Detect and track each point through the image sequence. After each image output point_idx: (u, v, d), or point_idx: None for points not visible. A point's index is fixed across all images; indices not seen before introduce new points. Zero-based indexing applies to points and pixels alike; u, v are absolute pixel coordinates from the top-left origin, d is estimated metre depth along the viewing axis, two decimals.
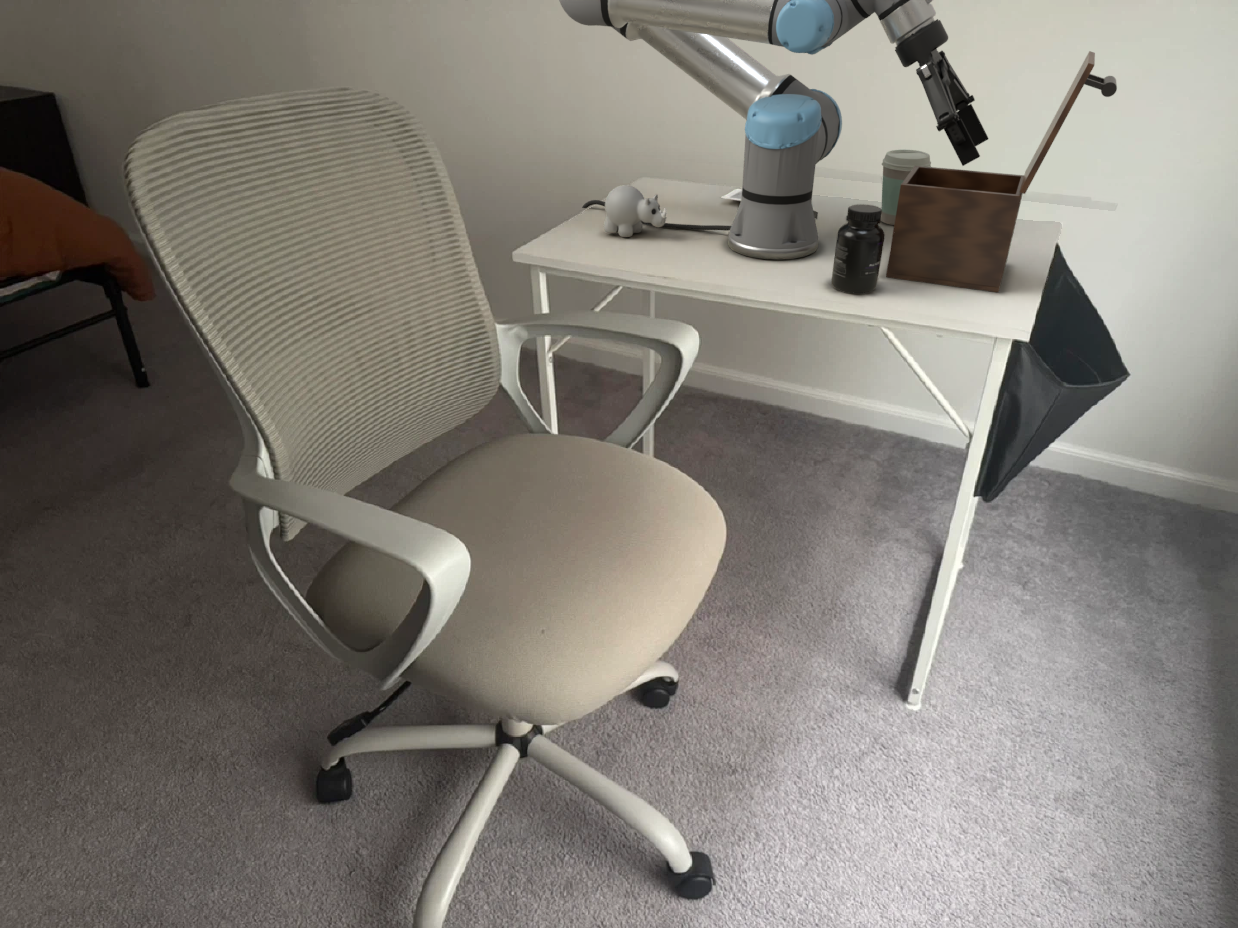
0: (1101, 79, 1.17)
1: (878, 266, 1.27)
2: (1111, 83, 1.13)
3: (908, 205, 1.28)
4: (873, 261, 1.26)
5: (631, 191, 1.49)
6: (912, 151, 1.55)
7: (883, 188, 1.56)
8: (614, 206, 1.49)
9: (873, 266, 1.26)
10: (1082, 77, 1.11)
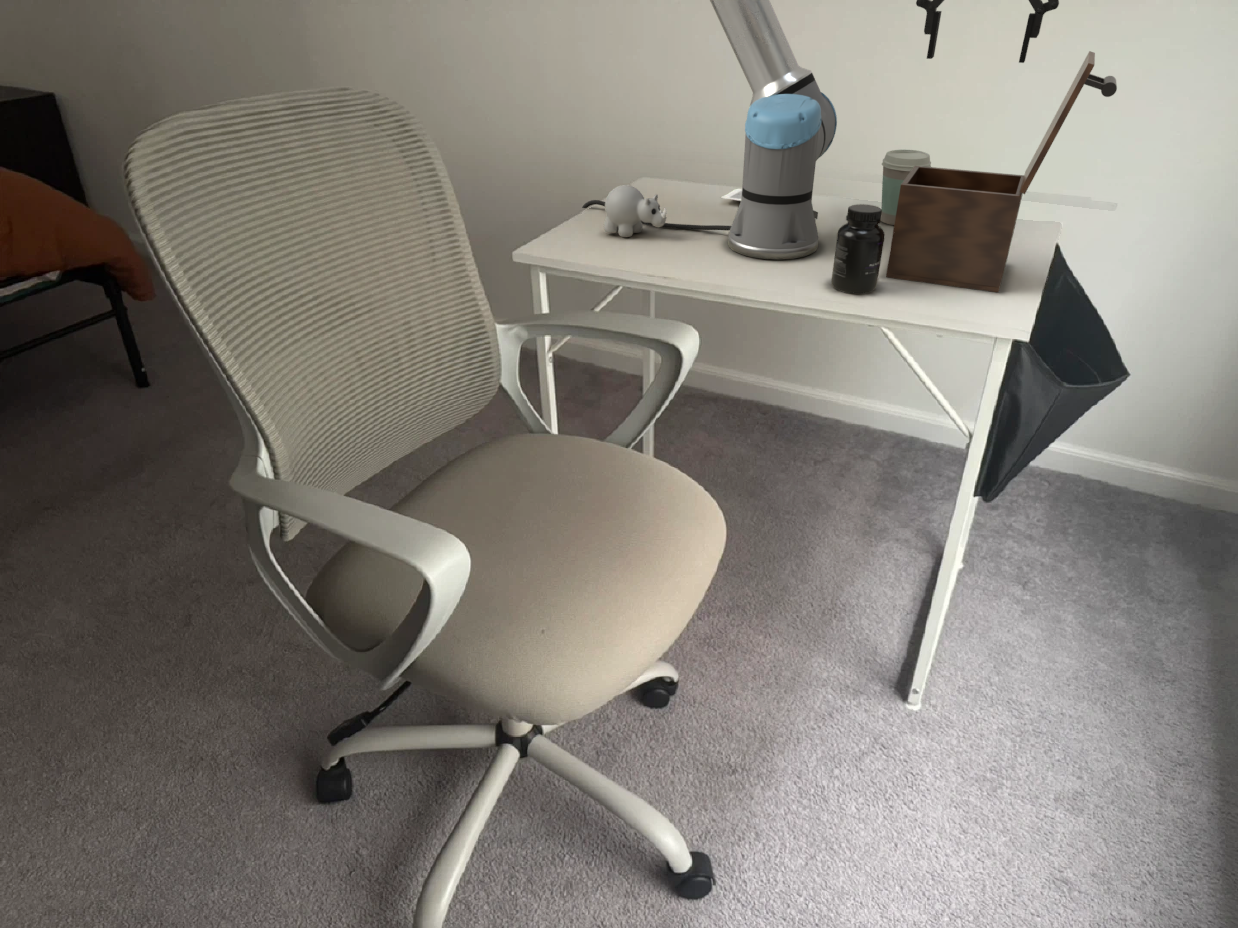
0: (1101, 79, 1.17)
1: (878, 266, 1.27)
2: (1111, 83, 1.13)
3: (908, 205, 1.28)
4: (873, 261, 1.26)
5: (631, 191, 1.49)
6: (912, 151, 1.55)
7: (883, 188, 1.56)
8: (614, 206, 1.49)
9: (873, 266, 1.26)
10: (1082, 77, 1.11)
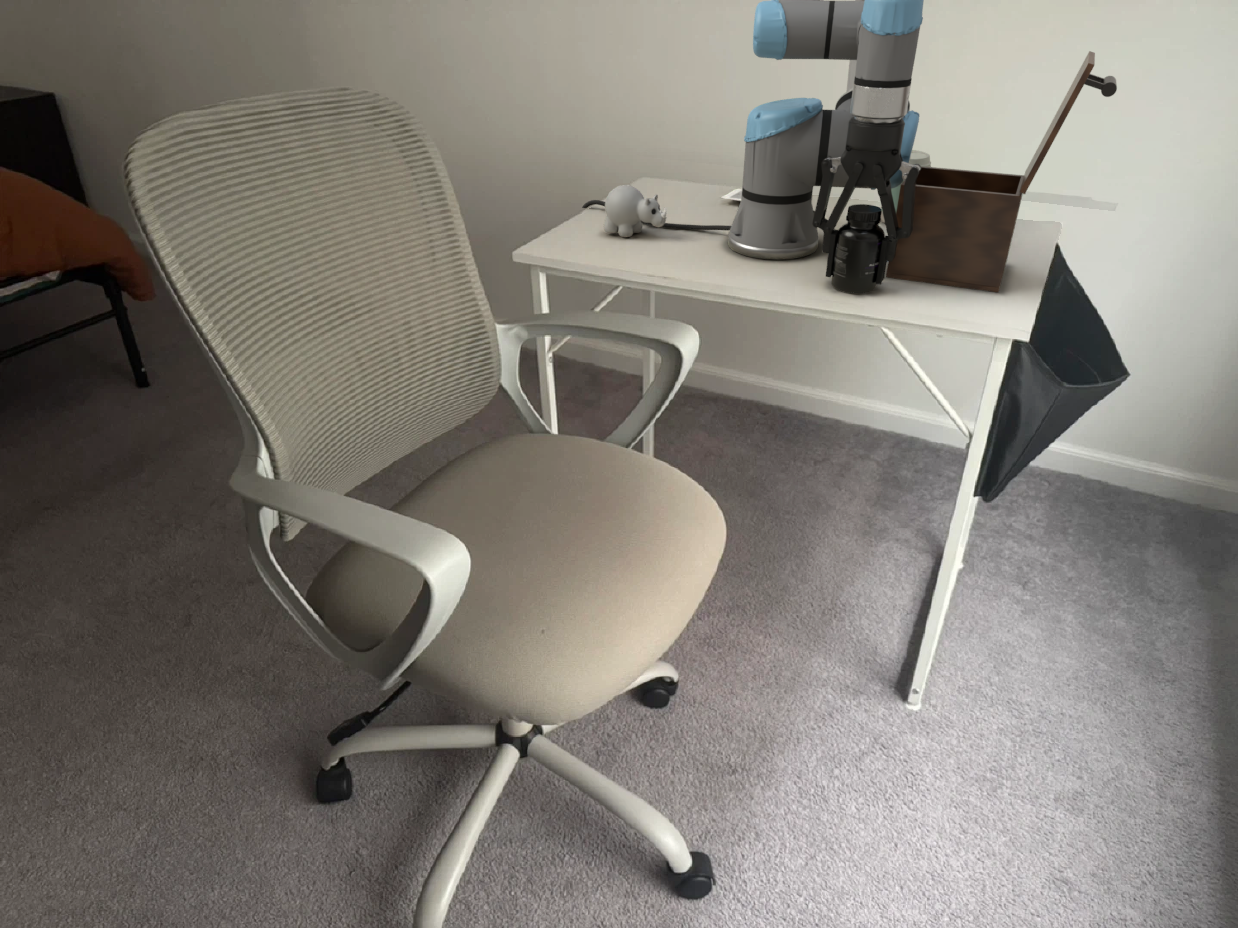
0: (1101, 79, 1.17)
1: None
2: (1111, 83, 1.13)
3: None
4: (873, 261, 1.26)
5: (631, 191, 1.49)
6: (912, 151, 1.55)
7: None
8: (614, 206, 1.49)
9: (873, 266, 1.26)
10: (1082, 77, 1.11)
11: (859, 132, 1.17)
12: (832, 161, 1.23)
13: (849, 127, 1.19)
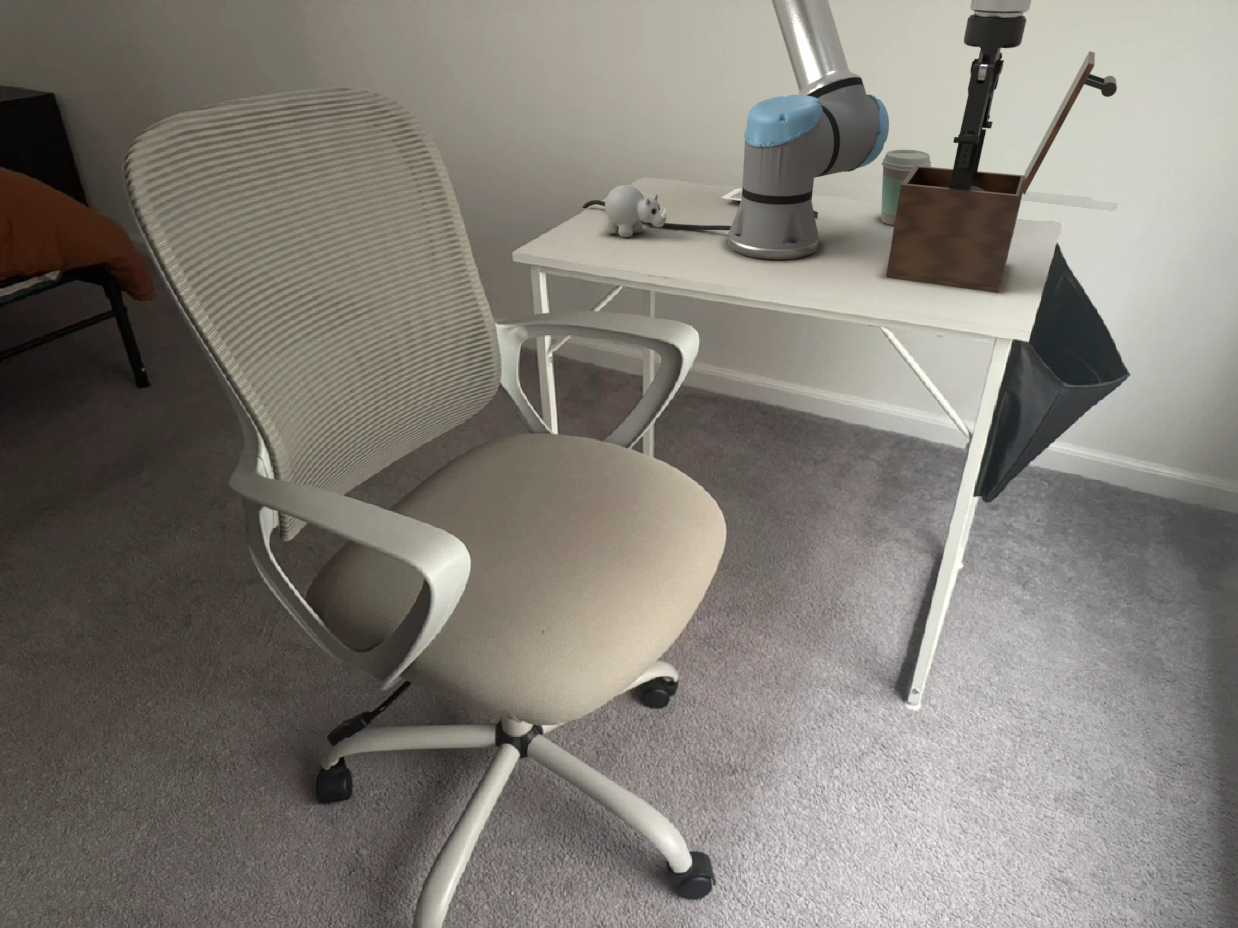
0: (1101, 79, 1.17)
1: None
2: (1111, 83, 1.13)
3: (908, 205, 1.28)
4: None
5: (631, 191, 1.49)
6: (912, 151, 1.55)
7: (883, 188, 1.56)
8: (614, 206, 1.49)
9: None
10: (1082, 77, 1.11)
11: (1021, 28, 1.15)
12: None
13: (1007, 26, 1.14)
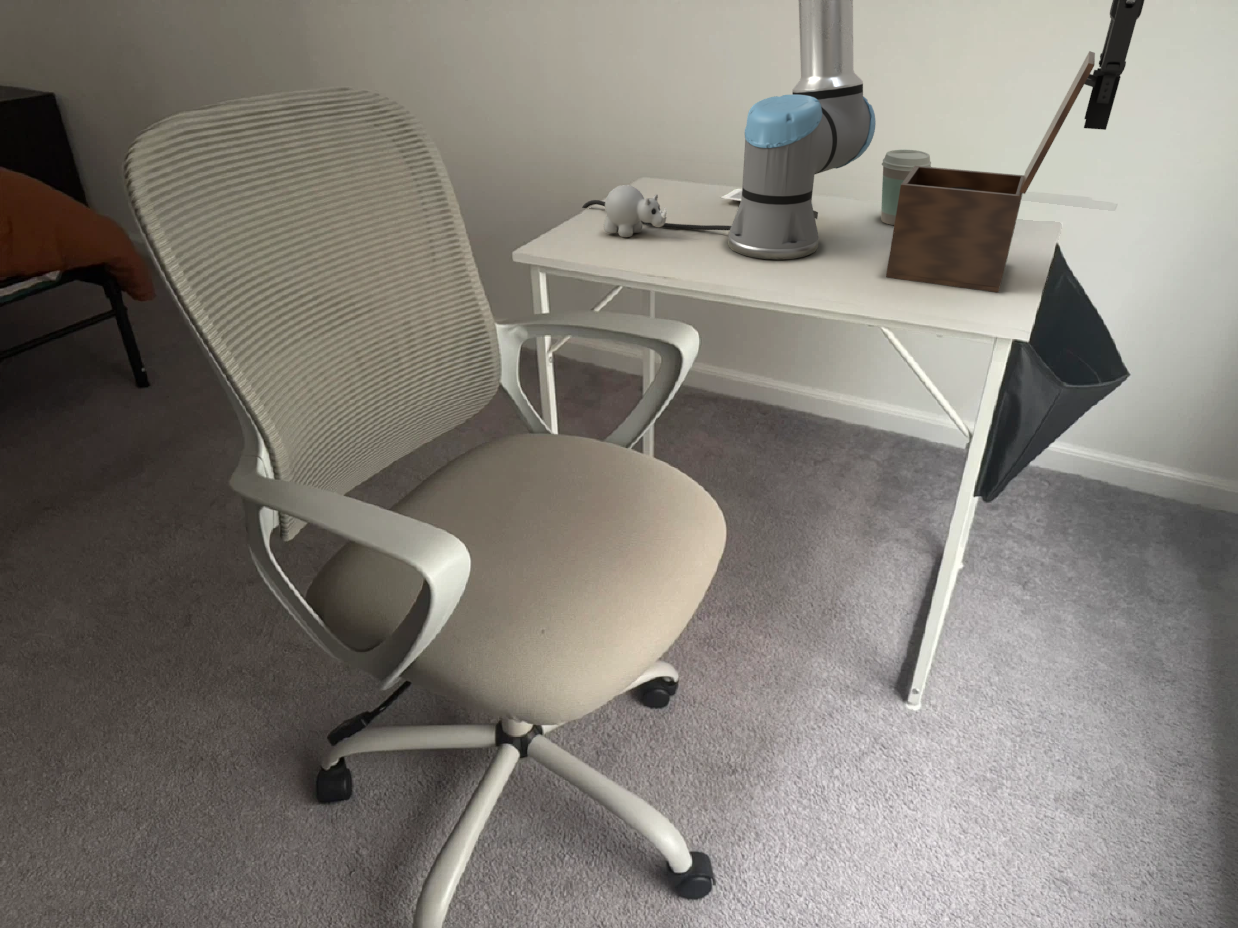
0: None
1: None
2: None
3: (908, 205, 1.28)
4: None
5: (631, 191, 1.49)
6: (912, 151, 1.55)
7: (883, 188, 1.56)
8: (614, 206, 1.49)
9: None
10: (1082, 77, 1.11)
11: None
12: None
13: None
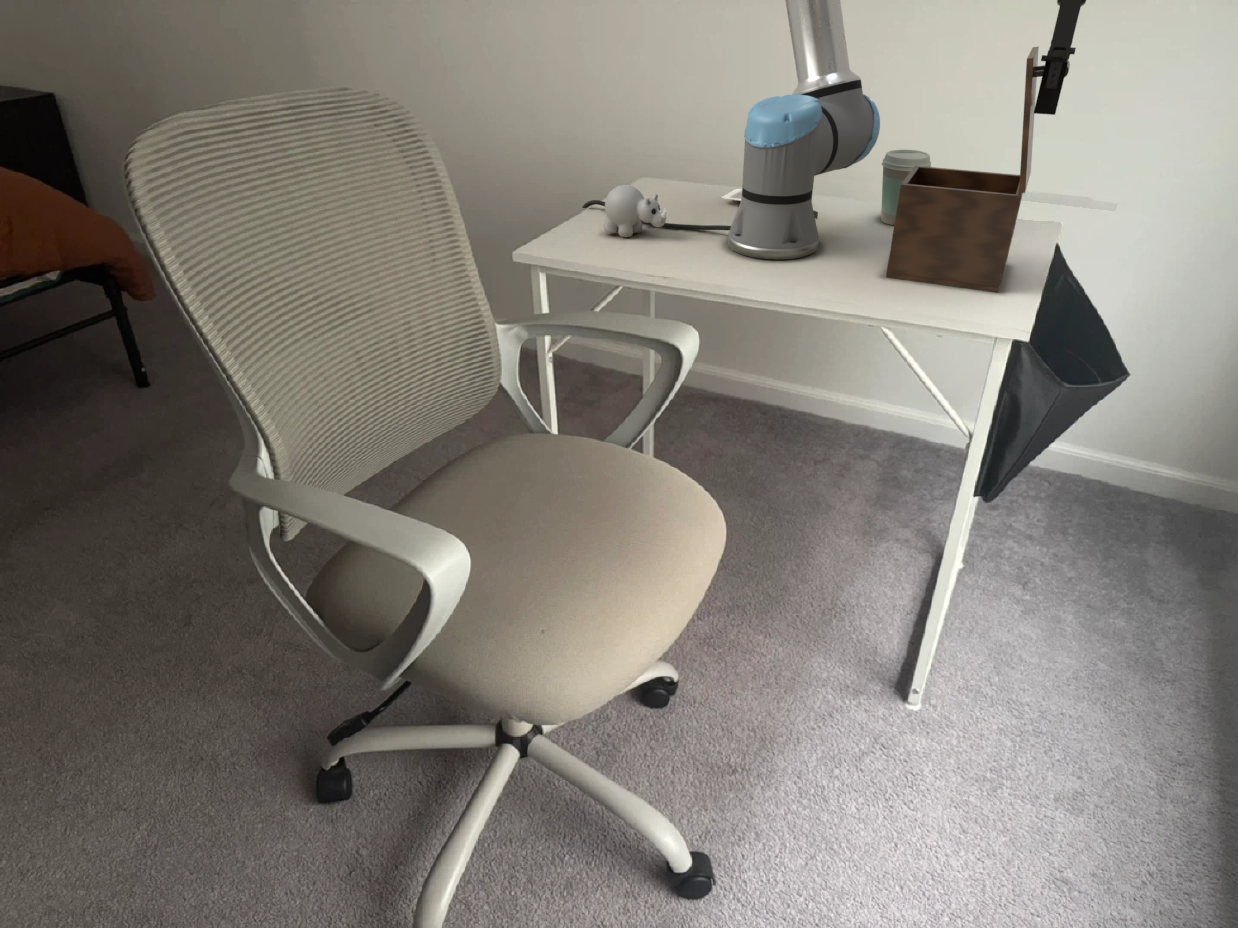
0: None
1: None
2: None
3: (908, 205, 1.28)
4: None
5: (631, 191, 1.49)
6: (912, 151, 1.55)
7: (883, 188, 1.56)
8: (614, 206, 1.49)
9: None
10: (1027, 72, 1.13)
11: None
12: None
13: None
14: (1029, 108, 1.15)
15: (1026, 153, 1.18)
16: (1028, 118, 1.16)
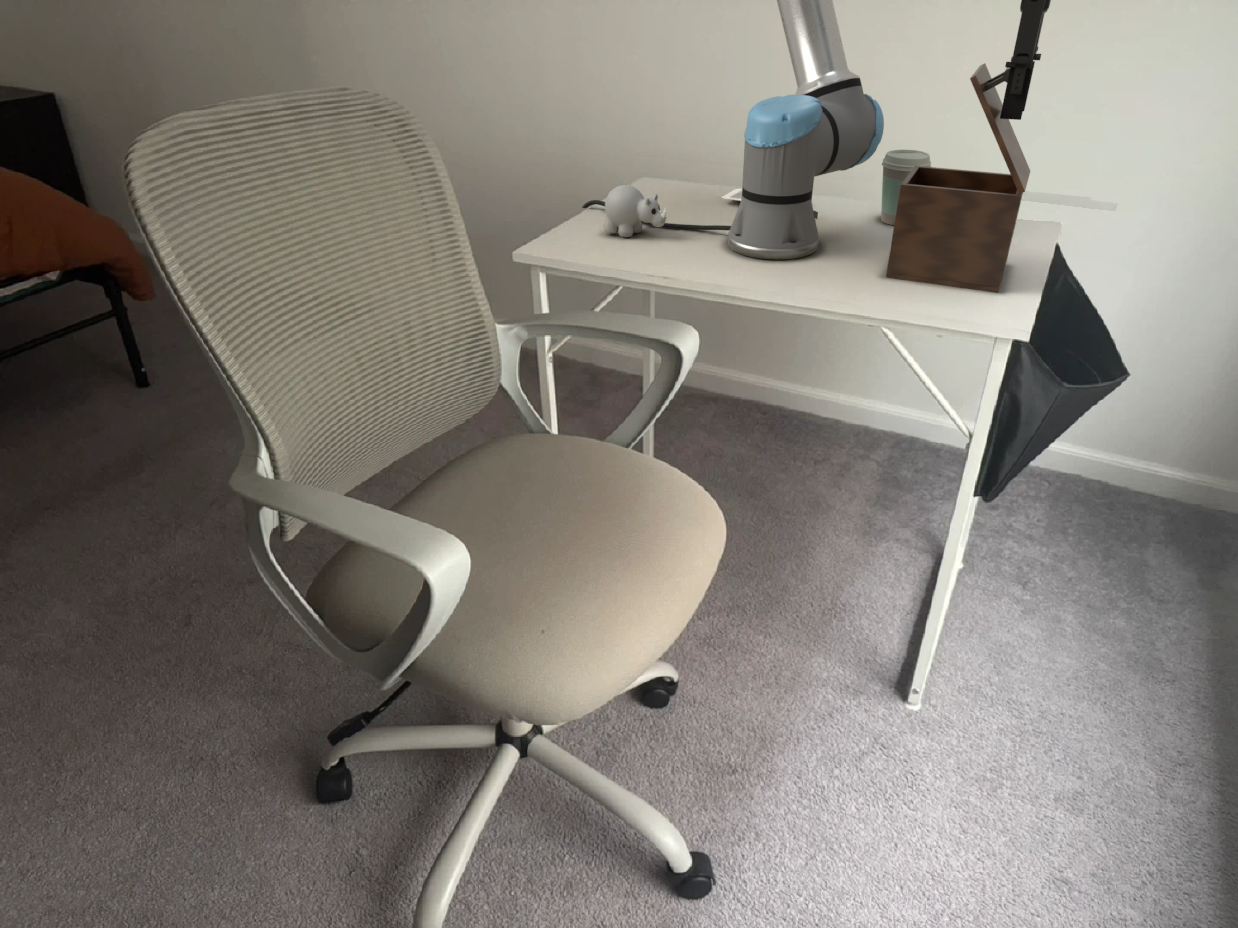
0: (1004, 73, 1.22)
1: None
2: (1006, 70, 1.17)
3: (908, 205, 1.28)
4: None
5: (631, 191, 1.49)
6: (912, 151, 1.55)
7: (883, 188, 1.56)
8: (614, 206, 1.49)
9: None
10: (976, 89, 1.17)
11: None
12: None
13: None
14: (993, 118, 1.18)
15: (1009, 157, 1.19)
16: (996, 127, 1.18)
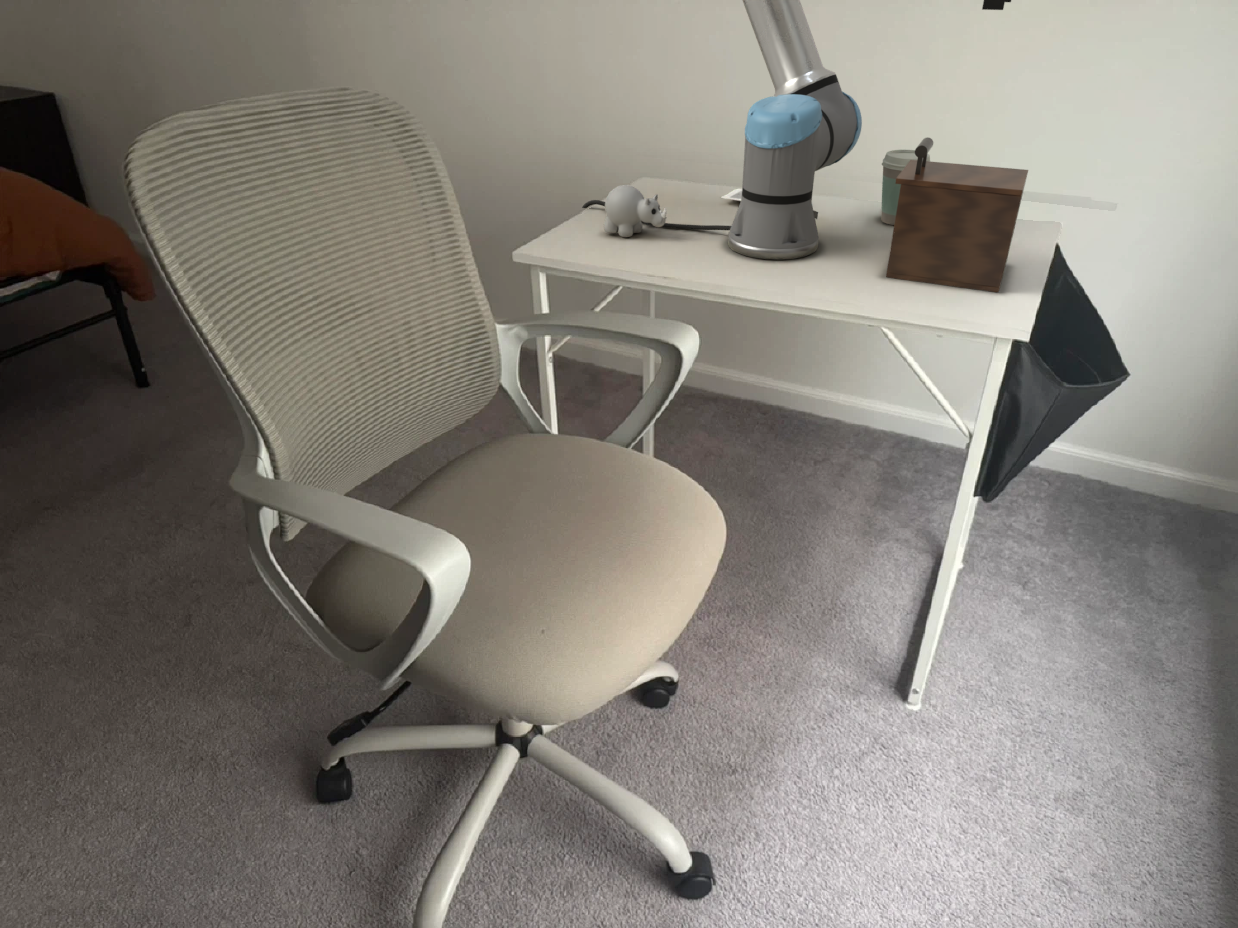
0: None
1: None
2: (915, 151, 1.27)
3: (908, 205, 1.28)
4: None
5: (631, 191, 1.49)
6: (912, 151, 1.55)
7: (883, 188, 1.56)
8: (614, 206, 1.49)
9: None
10: (907, 183, 1.26)
11: None
12: None
13: None
14: (940, 183, 1.24)
15: (982, 187, 1.22)
16: (949, 184, 1.24)
